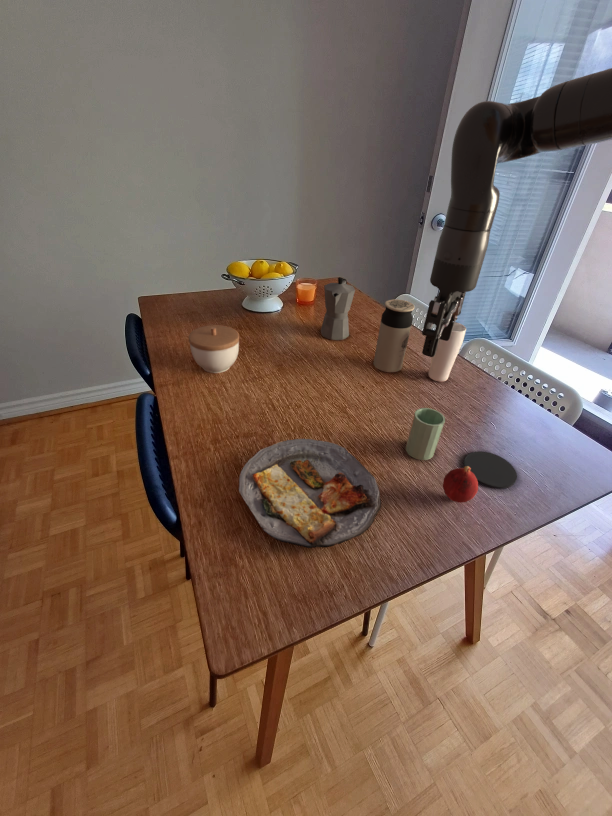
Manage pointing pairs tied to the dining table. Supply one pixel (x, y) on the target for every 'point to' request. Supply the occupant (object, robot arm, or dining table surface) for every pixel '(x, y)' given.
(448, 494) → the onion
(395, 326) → the travel mug
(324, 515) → the food plate
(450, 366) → the drinking glass
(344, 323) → the coffeepot
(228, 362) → the lidded bowl
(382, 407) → the dining table surface
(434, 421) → the cup
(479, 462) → the coaster
